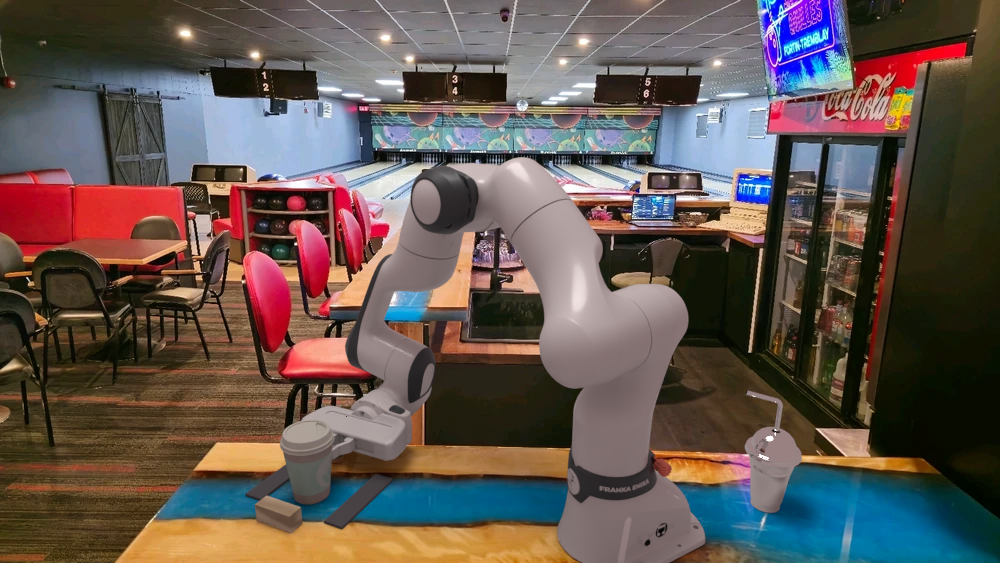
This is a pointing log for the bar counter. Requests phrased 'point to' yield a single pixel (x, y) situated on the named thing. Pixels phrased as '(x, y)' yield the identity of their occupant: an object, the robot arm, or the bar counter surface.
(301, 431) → the coffee cup
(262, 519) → the maple block
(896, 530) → the bar counter surface
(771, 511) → the cup with straw
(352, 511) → the gutter strips
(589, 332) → the robot arm
